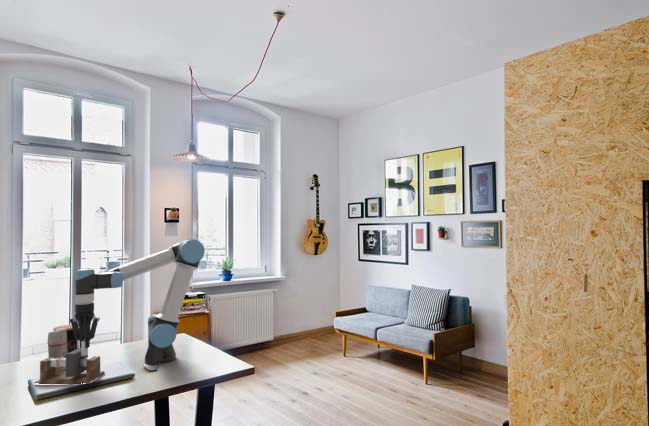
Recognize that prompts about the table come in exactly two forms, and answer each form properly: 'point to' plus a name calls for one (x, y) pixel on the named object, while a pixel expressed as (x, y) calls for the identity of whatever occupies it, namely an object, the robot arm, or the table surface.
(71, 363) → the tall grey notched block
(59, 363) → the light grey long bar
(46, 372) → the pipe stand
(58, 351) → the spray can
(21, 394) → the table surface
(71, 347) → the coffee jar
